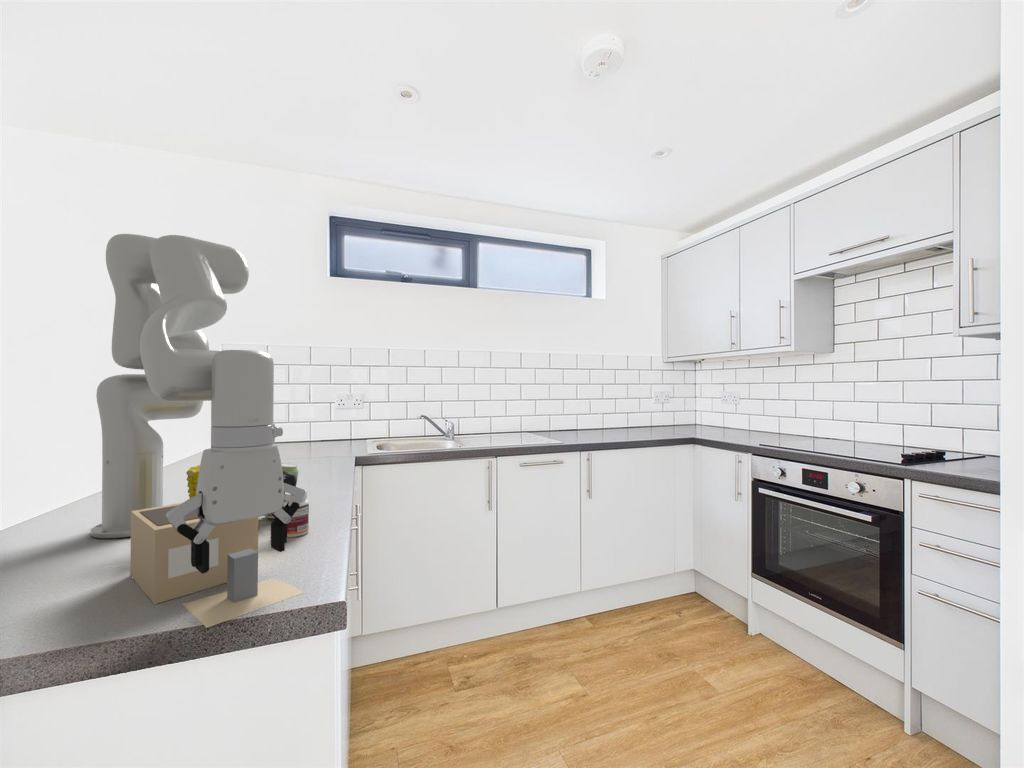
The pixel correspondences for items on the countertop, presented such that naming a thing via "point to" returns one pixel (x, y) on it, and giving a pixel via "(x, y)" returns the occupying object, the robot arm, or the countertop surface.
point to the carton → (181, 553)
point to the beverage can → (288, 477)
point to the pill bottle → (298, 518)
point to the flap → (240, 592)
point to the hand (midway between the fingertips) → (242, 559)
